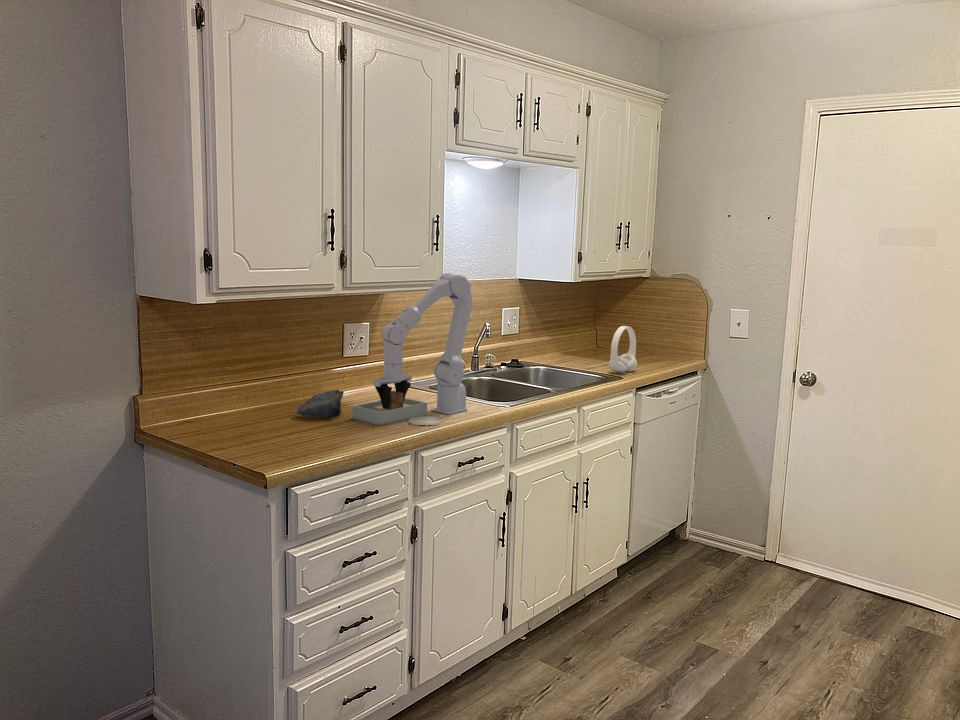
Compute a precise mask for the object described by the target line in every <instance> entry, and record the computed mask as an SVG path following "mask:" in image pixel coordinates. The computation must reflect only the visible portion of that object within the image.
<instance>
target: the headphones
mask: <svg viewBox="0 0 960 720" xmlns="http://www.w3.org/2000/svg"><path fill="white" fill-rule="evenodd" d="M625 330H626V331H627V333H628V337H629V349H628V352H626V353H623V354H621V355H620V356H619V355H618V349H619V348H618V347H619V343H620V339H621V336H622V334H623V332H624V331H625ZM634 330H635V329H633V327H631V326H628V325H621V326H619V327H618V328H617V329H616V330H615V332H614V334H613V336H612V340H611V345H610V359H609V361H608V364H607V366H608V368H609V369H610V370H612V371H613V372H615V373H617V372H620V373H619V374H624V373H626V372H625V371H628V372H631V371H633V370H635V369H636V367H637V365H638V362H637V359H636V354H637V351H636V350H637V337H636V332H635V331H634Z"/></svg>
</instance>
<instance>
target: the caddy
mask: <svg viewBox="0 0 960 720" xmlns="http://www.w3.org/2000/svg"><path fill="white" fill-rule="evenodd" d="M351 414H352V417H351V418H352V420H356V421H360V422H365V423H367V424H368V423H369V424H372V425H375V426H380V427H382V426H385V425H390V424H394V423H398V422H399V423H400V422H403V421H407V420H408V421H409V419H410V418H412V417H418V416H428V402H426V401H421V400H417V399H412V398H407V397H405V399H404V403H403V407H401V408H396V409H392V410H387V409H383V408H382V403H381V399H380V400H375V401H370V402H366V403H365V402H364V403H360V404H356V405H352V413H351Z"/></svg>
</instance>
